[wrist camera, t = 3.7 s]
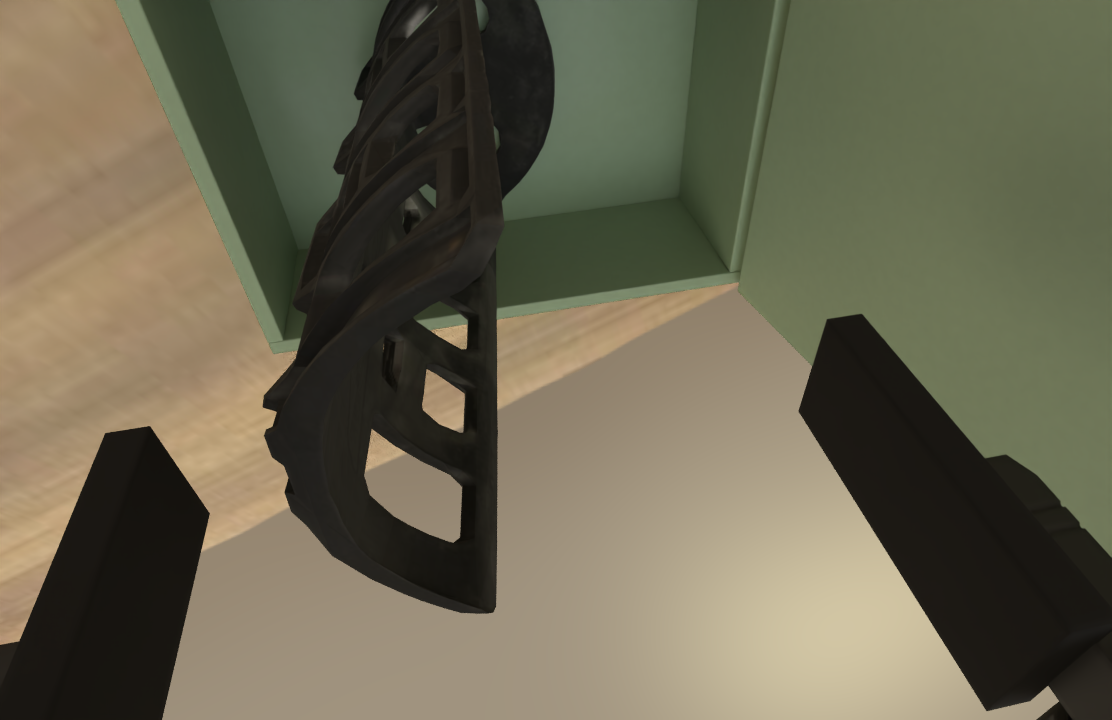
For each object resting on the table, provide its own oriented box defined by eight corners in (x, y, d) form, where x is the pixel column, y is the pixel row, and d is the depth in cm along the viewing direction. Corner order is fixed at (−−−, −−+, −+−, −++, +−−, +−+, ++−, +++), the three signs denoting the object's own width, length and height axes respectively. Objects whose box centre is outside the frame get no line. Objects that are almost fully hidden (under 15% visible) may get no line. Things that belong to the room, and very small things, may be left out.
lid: (1271, 830, 14) (1297, 813, 14) (2906, 249, 4) (2911, 220, 4) (737, 291, 28) (753, 286, 28) (814, -130, 18) (838, -133, 18)
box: (290, 254, 31) (273, 355, 26) (152, -117, 21) (80, -75, 16) (684, 200, 33) (741, 282, 28) (722, -159, 23) (818, -134, 18)
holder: (575, 185, 30) (671, 592, 16) (415, 219, 31) (364, 646, 16) (525, -101, 23) (620, 171, 8) (314, -52, 23) (49, 291, 9)
